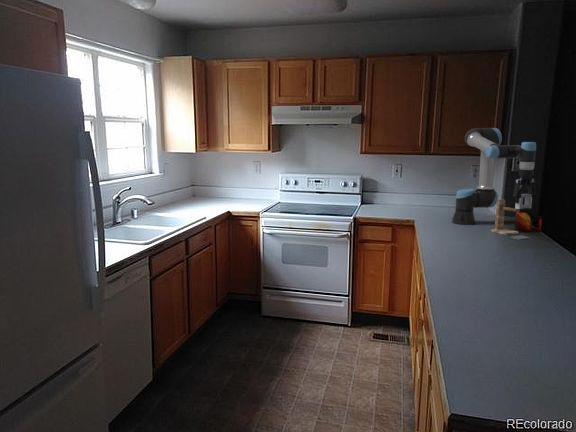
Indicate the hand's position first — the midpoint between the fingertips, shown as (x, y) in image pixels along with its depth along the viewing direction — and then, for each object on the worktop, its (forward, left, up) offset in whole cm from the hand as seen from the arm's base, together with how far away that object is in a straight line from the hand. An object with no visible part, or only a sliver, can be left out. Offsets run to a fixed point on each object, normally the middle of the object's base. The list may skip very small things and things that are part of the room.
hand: (523, 208), depth 251 cm
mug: (-15, +22, -18) cm, 32 cm away
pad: (0, 0, -18) cm, 18 cm away
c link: (0, 0, 0) cm, 0 cm away
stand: (-15, +4, -18) cm, 23 cm away
